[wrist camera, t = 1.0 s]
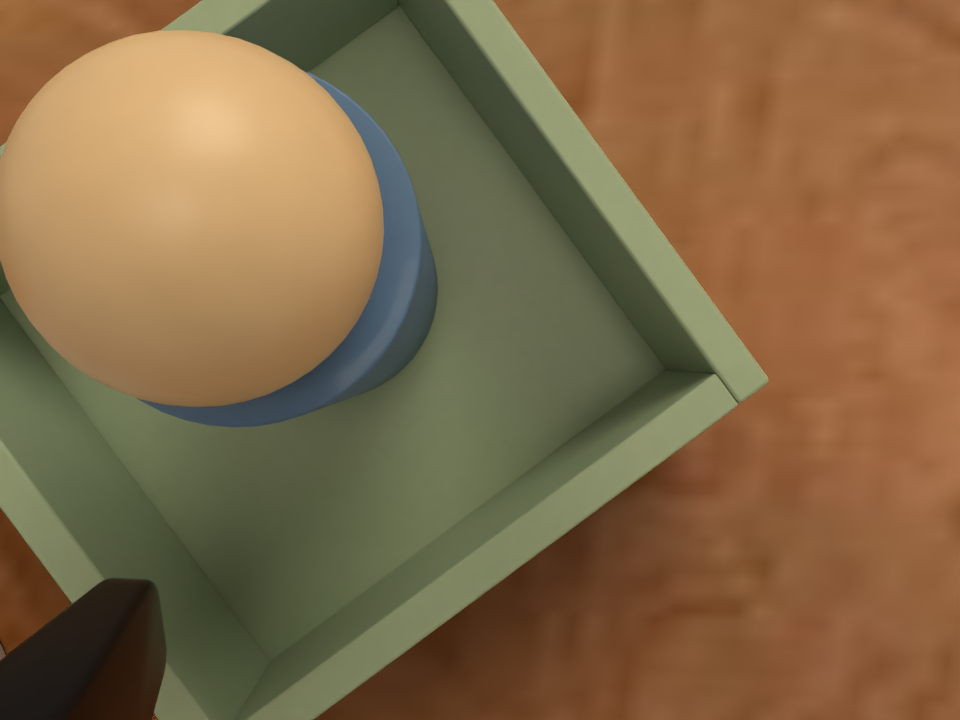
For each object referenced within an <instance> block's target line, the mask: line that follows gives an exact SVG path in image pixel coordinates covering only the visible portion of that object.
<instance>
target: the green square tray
mask: <svg viewBox="0 0 960 720" xmlns="http://www.w3.org/2000/svg"><path fill="white" fill-rule="evenodd" d="M170 30H190V31H201V32H212V33H217V34H222V35H226V36H231V37H235V38H239V39H242V40H244V41H247V42H250V43H253V44H255V45H258V46H261V47H263V48H265V49H267V50H268V51H270V52H272V53H274V54H276V55H278V56H280V57H282V58H284V59H286V60H288V61H289V62H291V63H292V64H294V65H295V66H297V67H298V68H300V69H301V70H303V71H306V72H308V73H311V74H313V75H315V76H317V77H319V78H321V79H322V80H324V81H326V82H328V83H330V84H332V85H334V86H335V87H336V88H338V89H339V90H341V91H342V92H344V93H345V94H346V95H348V96H349V97H351V98H352V99H353V100H354V101H355V102H357V103H358V104H359V105H360V106H361V107H362V108H363V109H364V110H365V111H366V112H367V113H369V114H370V115H371V117H372V118H373V119H374V120H375V121H376V123H377V124H378V125H379V126H380V127H381V128H382V130H383V131H384V132H385V133H386V135H387V136H388V138H389V139H390V141H391V143H392V144H393V146H394V147H395V149H396V150H397V152H398V154H399V155H400V158H401V160H402V162H403V164H404V166H405V168H406V170H407V173H408V175H409V177H410V180H411V183H412V187H413V190H414V193H415V196H416V199H417V203H418V206H419V210H420V213H421V217H422V220H423V224H424V227H425V231H426V234H427V237H428V241H429V244H430V248H431V251H432V255H433V258H434V262H435V267H436V273H437V285H438V293H437V305H436V310H435V314H434V319H433V322H432V324H431V327H430V330H429V333H428V335H427V337H426V338H425V340H424V342H423V344H422V346H421V347H420V349H419V350H418V352H417V353H416V355H415V356H414V357H413V359H412V360H411V361H410V362H409V363H408V364H407V365H406V366H405V367H404V368H403V369H402V370H401V371H400V372H399V373H397V374H396V375H395V376H394V377H393V378H391V379H390V380H388V381H386V382H385V383H383V384H382V385H380V386H378V387H376V388H374V389H371V390H369V391H367V392H364V393H362V394H359V395H356V396H354V397H351V398H348V399H346V400H343V401H340V402H337V403H335V404H332V405H329V406H327V407H324V408H321V409H319V410H316V411H313V412H310V413H308V414H305V415H302V416H299V417H296V418H292V419H289V420H286V421H283V422H279V423H273V424H268V425H262V426H254V427H222V426H210V425H205V424H200V423H195V422H191V421H186V420H183V419H180V418H177V417H175V416H172V415H169V414H166V413H163V412H161V411H159V410H157V409H155V408H153V407H151V406H149V405H147V404H146V403H144V402H142V401H140V400H138V399H137V398H135V397H133V396H130V395H127V394H124V393H122V392H119V391H117V390H114V389H112V388H110V387H108V386H106V385H105V384H103V383H101V382H99V381H97V380H95V379H93V378H91V377H89V376H88V375H86V374H85V373H83V372H82V371H80V370H79V369H77V368H76V367H75V366H73V365H72V364H70V363H69V362H68V361H67V360H65V359H64V358H63V357H62V356H61V355H60V354H59V353H58V352H57V351H55V350H54V349H53V348H52V347H51V346H50V345H49V344H48V342H47V341H46V340H45V339H44V338H43V337H42V335H41V334H40V333H39V332H38V331H37V330H36V328H35V327H34V326H33V325H32V324H31V322H30V321H29V319H28V318H27V316H26V315H25V313H24V312H23V310H22V309H21V307H20V305H19V304H18V302H17V301H16V299H15V296H14V294H13V292H12V290H11V288H10V286H9V284H8V282H7V280H6V276H5V273H4V270H3V267H2V264H1V261H0V508H1V509H2V510H3V512H4V513H5V514H6V516H7V517H8V518H9V520H10V521H11V522H12V524H13V525H14V527H15V528H16V529H17V531H18V532H19V533H20V535H21V536H22V537H23V539H24V540H25V541H26V543H27V544H28V545H29V547H30V548H31V549H32V551H33V552H34V553H35V555H36V556H37V557H38V559H39V560H40V561H41V563H42V564H43V565H44V567H45V568H46V569H47V571H48V572H49V573H50V575H51V576H52V577H53V579H54V580H55V581H56V583H57V584H58V585H59V587H60V588H61V589H62V591H63V592H64V593H65V595H66V596H67V597H68V599H69V600H70V602H71V603H72V604H73V603H74V602H75V601H76V600H78V599H79V598H80V597H82V596H83V595H84V594H85V593H87V592H88V591H89V590H90V589H92V588H93V587H94V586H96V585H97V584H98V583H100V582H101V581H103V580H105V579H108V578H131V579H147V580H150V581H152V582H153V583H155V585H156V587H157V589H158V592H159V597H160V604H161V611H162V618H163V625H164V632H165V639H166V647H167V657H166V666H165V672H164V676H163V680H162V684H161V687H160V691H159V695H158V699H157V702H156V706H155V710H154V714H155V715H156V717H157V718H158V719H159V720H314V719H315V718H317V717H318V716H319V715H321V714H322V713H323V712H325V711H326V710H327V709H329V708H330V707H332V706H333V705H334V704H336V703H337V702H338V701H340V700H341V699H342V698H344V697H345V696H346V695H348V694H349V693H350V692H352V691H353V690H355V689H356V688H357V687H359V686H360V685H361V684H363V683H364V682H365V681H367V680H368V679H369V678H371V677H372V676H373V675H375V674H376V673H378V672H379V671H380V670H382V669H383V668H384V667H386V666H387V665H388V664H390V663H391V662H392V661H394V660H395V659H396V658H398V657H399V656H401V655H402V654H403V653H405V652H406V651H407V650H409V649H410V648H411V647H413V646H414V645H415V644H417V643H418V642H419V641H421V640H422V639H423V638H425V637H426V636H428V635H429V634H430V633H432V632H433V631H434V630H436V629H437V628H438V627H440V626H441V625H442V624H444V623H445V622H446V621H448V620H449V619H451V618H452V617H453V616H455V615H456V614H457V613H459V612H460V611H461V610H463V609H464V608H465V607H467V606H468V605H469V604H471V603H472V602H474V601H475V600H476V599H478V598H479V597H480V596H482V595H483V594H484V593H486V592H487V591H488V590H490V589H491V588H492V587H494V586H495V585H497V584H498V583H499V582H501V581H502V580H503V579H505V578H506V577H507V576H509V575H510V574H511V573H513V572H514V571H515V570H517V569H518V568H520V567H521V566H522V565H524V564H525V563H526V562H528V561H529V560H530V559H532V558H533V557H534V556H536V555H537V554H538V553H540V552H541V551H543V550H544V549H545V548H547V547H548V546H549V545H551V544H552V543H553V542H555V541H556V540H557V539H559V538H560V537H561V536H563V535H564V534H566V533H567V532H568V531H570V530H571V529H572V528H574V527H575V526H576V525H578V524H579V523H580V522H582V521H583V520H584V519H586V518H587V517H588V516H590V515H591V514H593V513H594V512H595V511H597V510H598V509H599V508H601V507H602V506H603V505H605V504H606V503H607V502H609V501H610V500H611V499H613V498H614V497H616V496H617V495H618V494H620V493H621V492H622V491H624V490H625V489H626V488H628V487H629V486H630V485H632V484H633V483H634V482H636V481H637V480H639V479H640V478H641V477H643V476H644V475H645V474H647V473H648V472H649V471H651V470H652V469H653V468H655V467H656V466H657V465H659V464H660V463H662V462H663V461H664V460H666V459H667V458H668V457H670V456H671V455H672V454H674V453H675V452H676V451H678V450H679V449H680V448H682V447H683V446H685V445H686V444H687V443H689V442H690V441H691V440H693V439H694V438H695V437H697V436H698V435H699V434H701V433H702V432H703V431H705V430H706V429H708V428H709V427H710V426H712V425H713V424H714V423H716V422H717V421H718V420H720V419H721V418H722V417H724V416H725V415H726V414H728V413H729V412H731V411H732V410H733V409H735V408H736V407H737V403H741V402H743V401H745V400H746V399H747V398H749V397H750V396H751V395H753V394H754V393H755V392H757V391H758V390H760V389H761V388H762V387H764V386H765V385H766V384H767V383H768V381H769V380H768V377H767V376H766V374H765V373H764V371H763V370H762V369H761V367H760V366H759V365H758V363H757V362H756V360H755V359H754V358H753V356H752V355H751V354H750V352H749V351H748V349H747V348H746V347H745V345H744V344H743V343H742V341H741V340H740V339H739V337H738V336H737V334H736V333H735V332H734V330H733V329H732V328H731V326H730V325H729V323H728V322H727V321H726V319H725V318H724V317H723V315H722V314H721V312H720V311H719V310H718V308H717V307H716V306H715V304H714V303H713V301H712V300H711V299H710V297H709V296H708V295H707V293H706V292H705V290H704V289H703V288H702V286H701V285H700V284H699V282H698V281H697V280H696V278H695V277H694V275H693V274H692V273H691V271H690V270H689V269H688V267H687V266H686V264H685V263H684V262H683V260H682V259H681V258H680V256H679V255H678V253H677V252H676V251H675V249H674V248H673V247H672V245H671V244H670V242H669V241H668V240H667V238H666V237H665V236H664V234H663V233H662V232H661V230H660V229H659V227H658V226H657V225H656V223H655V222H654V221H653V219H652V218H651V216H650V215H649V214H648V212H647V211H646V210H645V208H644V207H643V205H642V204H641V203H640V201H639V200H638V199H637V197H636V196H635V194H634V193H633V192H632V190H631V189H630V188H629V186H628V185H627V184H626V182H625V181H624V179H623V178H622V177H621V175H620V174H619V173H618V171H617V170H616V168H615V167H614V166H613V164H612V163H611V162H610V160H609V159H608V157H607V156H606V155H605V153H604V152H603V151H602V149H601V148H600V146H599V145H598V144H597V142H596V141H595V140H594V138H593V137H592V135H591V134H590V133H589V131H588V130H587V129H586V127H585V126H584V125H583V123H582V122H581V120H580V119H579V118H578V116H577V115H576V114H575V112H574V111H573V109H572V108H571V107H570V105H569V104H568V103H567V101H566V100H565V98H564V97H563V96H562V94H561V93H560V92H559V90H558V89H557V87H556V86H555V85H554V83H553V82H552V81H551V79H550V78H549V77H548V75H547V74H546V72H545V71H544V70H543V68H542V67H541V66H540V64H539V63H538V61H537V60H536V59H535V57H534V56H533V55H532V53H531V52H530V50H529V49H528V48H527V46H526V45H525V44H524V42H523V41H522V39H521V38H520V37H519V35H518V34H517V33H516V31H515V30H514V29H513V27H512V26H511V24H510V23H509V22H508V20H507V19H506V18H505V16H504V15H503V13H502V12H501V11H500V9H499V8H498V7H497V5H496V4H495V2H494V1H493V0H202V1H201V2H199V3H198V4H196V5H195V6H194V7H192V8H191V9H190V10H188V11H187V12H185V13H184V14H183V15H181V16H180V17H178V18H177V19H176V20H174V21H173V22H172V23H170V24H169V25H167V26H166V27H165V28H163V29H162V30H161V31H170ZM6 143H7V142H6ZM6 143H5V144H3V145H2V146H0V159H1V156H2V154H3V151H4V148H5V145H6Z"/></svg>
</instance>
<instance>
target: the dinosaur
mask: <svg viewBox="0 0 960 720" xmlns="http://www.w3.org/2000/svg"><path fill="white" fill-rule="evenodd" d="M5 656H6V655H5V653H4V650H3V648H2V646H1V644H0V660H1V659H2V658H4V657H5Z"/></svg>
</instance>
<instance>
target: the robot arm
mask: <svg viewBox="0 0 960 720" xmlns="http://www.w3.org/2000/svg"><path fill="white" fill-rule="evenodd" d="M166 657H167V647H166V639H165V632H164V625H163V618H162V611H161V604H160V597H159V592H158V589H157V587H156V585H155V583H153V582H152V581H150V580H147V579H131V578H108V579H105V580H103V581H101V582H100V583H98V584H97V585H96V586H94V587H93V588H92V589H90V590H89V591H88V592H87V593H85V594H84V595H83V596H82V597H80V598H79V599H78V600H76V601H75V602H74V603H73V604H71V605H70V606H69V607H67V608H66V609H65V610H64V611H62V612H61V613H60V614H59V615H57V616H56V617H55V618H53V619H52V620H51V621H50V622H48V623H47V624H46V625H44V626H43V627H42V628H41V629H39V630H38V631H37V632H36V633H34V634H33V635H32V636H30V637H29V638H28V639H27V640H25V641H24V642H23V643H21V644H20V645H19V646H18V647H16V648H15V649H14V650H12V651H11V652H10V653H9V654H7V655H6V656H5V657H4V658H2V659H1V660H0V720H152V717H153V714H154V710H155V706H156V702H157V699H158V695H159V691H160V687H161V684H162V680H163V676H164V672H165V666H166Z"/></svg>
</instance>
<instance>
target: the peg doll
mask: <svg viewBox="0 0 960 720" xmlns="http://www.w3.org/2000/svg"><path fill="white" fill-rule="evenodd" d="M0 261H1V264H2V267H3V270H4V273H5V276H6V280H7V282H8V284H9V286H10V288H11V290H12V292H13V294H14V296H15V299H16V301H17V302H18V304H19V305H20V307H21V309H22V310H23V312H24V313H25V315H26V316H27V318H28V319H29V321H30V322H31V324H32V325H33V326H34V327H35V328H36V330H37V331H38V332H39V333H40V334H41V335H42V337H43V338H44V339H45V340H46V341H47V342H48V344H49V345H50V346H51V347H52V348H53V349H54V350H55V351H57V352H58V353H59V354H60V355H61V356H62V357H63V358H64V359H65V360H67V361H68V362H69V363H70V364H72V365H73V366H75V367H76V368H77V369H79V370H80V371H82V372H83V373H85V374H86V375H88V376H89V377H91V378H93V379H95V380H97V381H99V382H101V383H103V384H105V385H106V386H108V387H110V388H112V389H114V390H117V391H119V392H122V393H124V394H127V395H130V396H133V397H135V398H137V399H138V400H140V401H142V402H144V403H146V404H147V405H149V406H151V407H153V408H155V409H157V410H159V411H161V412H163V413H166V414H169V415H172V416H175V417H177V418H180V419H183V420H186V421H191V422H195V423H200V424H205V425H210V426H222V427H254V426H262V425H268V424H273V423H279V422H283V421H286V420H289V419H292V418H296V417H299V416H302V415H305V414H308V413H310V412H313V411H316V410H319V409H321V408H324V407H327V406H329V405H332V404H335V403H337V402H340V401H343V400H346V399H348V398H351V397H354V396H356V395H359V394H362V393H364V392H367V391H369V390H371V389H374V388H376V387H378V386H380V385H382V384H383V383H385V382H386V381H388V380H390V379H391V378H393V377H394V376H395V375H396V374H397V373H399V372H400V371H401V370H402V369H403V368H404V367H405V366H406V365H407V364H408V363H409V362H410V361H411V360H412V359H413V357H414V356H415V355H416V353H417V352H418V350H419V349H420V347H421V346H422V344H423V342H424V340H425V338H426V337H427V335H428V333H429V330H430V327H431V324H432V322H433V319H434V314H435V310H436V305H437V293H438V285H437V273H436V267H435V262H434V258H433V255H432V251H431V248H430V244H429V241H428V237H427V234H426V231H425V227H424V224H423V220H422V217H421V213H420V210H419V206H418V203H417V199H416V196H415V193H414V190H413V187H412V183H411V180H410V177H409V175H408V173H407V170H406V168H405V166H404V164H403V162H402V160H401V158H400V155H399V154H398V152H397V150H396V149H395V147H394V146H393V144H392V143H391V141H390V139H389V138H388V136H387V135H386V133H385V132H384V131H383V130H382V128H381V127H380V126H379V125H378V124H377V123H376V121H375V120H374V119H373V118H372V117H371V115H370V114H369V113H367V112H366V111H365V110H364V109H363V108H362V107H361V106H360V105H359V104H358V103H357V102H355V101H354V100H353V99H352V98H351V97H349V96H348V95H346V94H345V93H344V92H342V91H341V90H339V89H338V88H336V87H335V86H334V85H332V84H330V83H328V82H326V81H324V80H322V79H321V78H319V77H317V76H315V75H313V74H311V73H308V72H306V71H303V70H301V69H300V68H298V67H297V66H295V65H294V64H292V63H291V62H289V61H288V60H286V59H284V58H282V57H280V56H278V55H276V54H274V53H272V52H270V51H268V50H267V49H265V48H263V47H261V46H258V45H255V44H253V43H250V42H247V41H244V40H242V39H239V38H235V37H231V36H226V35H222V34H217V33H212V32H201V31H190V30H170V31H155V32H149V33H143V34H137V35H133V36H129V37H126V38H123V39H120V40H116V41H113V42H110V43H108V44H106V45H104V46H102V47H99V48H97V49H95V50H93V51H91V52H89V53H87V54H85V55H84V56H82V57H81V58H79V59H77V60H76V61H74V62H73V63H71V64H69V65H68V66H66V67H65V68H64V69H63V70H61V71H60V72H59V73H58V74H57V75H55V76H54V77H53V78H52V79H51V80H49V81H48V82H47V83H46V84H45V85H44V86H43V88H42V89H41V90H40V91H39V92H38V93H37V94H36V95H35V96H34V97H33V98H32V100H31V101H30V103H29V104H28V105H27V107H26V108H25V110H24V111H23V112H22V114H21V115H20V117H19V118H18V120H17V122H16V124H15V126H14V128H13V130H12V132H11V134H10V136H9V137H8V140H7V143H6V145H5V148H4V151H3V154H2V156H1V159H0Z"/></svg>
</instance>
